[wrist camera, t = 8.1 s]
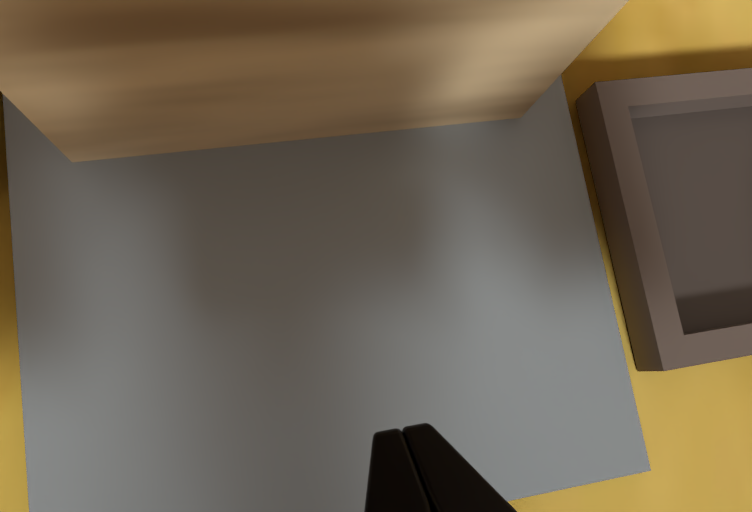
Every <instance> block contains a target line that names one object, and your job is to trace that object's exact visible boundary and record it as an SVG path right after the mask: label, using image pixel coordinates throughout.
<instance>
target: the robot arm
mask: <svg viewBox="0 0 752 512" xmlns="http://www.w3.org/2000/svg"><path fill="white" fill-rule="evenodd" d="M364 512H517V511H516V510H515V509H514V508H513V507H512V506H511V505H510V504H509V503H508V502H507V501H506V500H505V499H504V498H503V497H502V496H501V495H500V494H499V493H498V492H497V491H496V490H495V489H494V488H493V487H492V486H491V485H490V484H489V483H488V482H487V481H486V480H485V479H484V478H483V477H482V476H481V475H480V474H479V473H478V472H477V471H476V470H475V469H474V468H473V466H472V465H471V464H470V463H469V462H468V461H467V460H466V459H465V458H464V457H463V456H462V455H461V454H460V453H459V452H458V451H457V450H456V449H455V448H454V447H453V446H452V445H451V444H450V443H449V442H448V441H447V440H446V439H445V438H444V437H443V436H442V435H441V434H440V433H439V432H438V431H437V430H436V429H435V428H434V427H433V426H432V425H430V424H428V423H421V424H416V425H410V426H406V427H404V428H403V429H402V431H401V430H400V429H398V428H394V429H389V430H383V431H378V432H376V433H374V435H373V439H372V447H371V456H370V465H369V473H368V482H367V491H366V500H365V508H364Z"/></svg>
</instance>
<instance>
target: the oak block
mask: <svg viewBox="0 0 752 512" xmlns="http://www.w3.org/2000/svg"><path fill="white" fill-rule="evenodd" d="M628 1H629V0H0V91H1V92H2V93H3V94H4V95H5V96H6V97H7V98H8V99H9V100H10V101H11V102H12V103H13V104H14V105H15V106H16V107H17V108H18V109H19V110H20V111H21V112H22V113H23V114H24V115H25V116H26V117H27V118H28V119H29V120H30V121H31V122H32V123H33V124H34V125H35V126H36V127H37V128H38V129H39V130H40V131H41V132H42V133H43V134H44V135H45V136H46V137H47V138H48V139H49V140H50V141H51V142H52V143H53V144H54V145H55V146H56V147H57V148H58V149H59V150H60V151H61V152H62V153H63V154H64V155H65V156H66V157H67V158H68V159H69V160H70V161H71V162H82V161H92V160H102V159H112V158H122V157H132V156H142V155H152V154H162V153H172V152H182V151H192V150H203V149H213V148H223V147H233V146H243V145H253V144H263V143H273V142H283V141H293V140H303V139H313V138H323V137H333V136H343V135H353V134H363V133H373V132H383V131H393V130H403V129H414V128H424V127H434V126H444V125H454V124H464V123H474V122H484V121H494V120H504V119H514V118H521V117H522V116H523V115H524V114H525V113H526V112H527V111H528V109H529V108H530V107H531V106H532V105H533V104H534V103H535V102H536V101H537V100H538V99H539V98H540V96H541V95H542V94H543V93H544V92H545V91H546V90H547V89H548V88H549V87H550V86H551V84H552V83H553V82H554V81H555V80H556V79H557V78H558V77H559V76H560V75H561V74H562V72H563V71H564V70H565V69H566V68H567V67H568V66H569V65H570V64H571V63H572V62H573V60H574V59H575V58H576V57H577V56H578V55H579V54H580V53H581V52H582V51H583V50H584V49H585V47H586V46H587V45H588V44H589V43H590V42H591V41H592V40H593V39H594V38H595V37H596V35H597V34H598V33H599V32H600V31H601V30H602V29H603V28H604V27H605V26H606V25H607V23H608V22H609V21H610V20H611V19H612V18H613V17H614V16H615V15H616V14H617V13H618V12H619V10H620V9H621V8H622V7H623V6H624V5H625V4H626V3H627V2H628Z"/></svg>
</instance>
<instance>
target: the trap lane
mask: <svg viewBox="0 0 752 512" xmlns="http://www.w3.org/2000/svg"><path fill="white" fill-rule="evenodd" d="M575 102H576V106H577V110H578V115H579V119H580V123H581V128H582V132H583V136H584V141H585V145H586V149H587V154H588V158H589V163H590V167H591V171H592V176H593V180H594V184H595V189H596V193H597V197H598V202H599V206H600V210H601V215H602V219H603V223H604V228H605V232H606V236H607V241H608V245H609V250H610V254H611V258H612V263H613V267H614V271H615V276H616V280H617V284H618V289H619V293H620V297H621V302H622V306H623V310H624V315H625V319H626V323H627V328H628V332H629V337H630V341H631V345H632V350H633V354H634V358H635V363H636V367H637V371H667V370H672V369H678V368H683V367H689V366H694V365H699V364H705V363H710V362H716V361H721V360H727V359H732V358H738V357H743V356H749V355H752V68H745V69H734V70H723V71H712V72H701V73H690V74H679V75H668V76H657V77H646V78H635V79H624V80H613V81H602V82H595V83H594V84H593V85H592V86H591V87H590V88H589V89H587V90H586V91H585V92H584V93H583V94H582V95H581V96H580V97H579V98H578V99H577V100H576V101H575ZM3 108H4V124H5V140H6V155H7V171H8V187H9V202H10V218H11V234H12V249H13V265H14V281H15V296H16V312H17V327H18V343H19V359H20V374H21V390H22V406H23V421H24V437H25V453H26V468H27V484H28V500H29V512H364V508H365V500H366V491H367V482H368V473H369V465H370V456H371V447H372V439H373V435H374V433H376V432H378V431H383V430H389V429H394V428H398V429H400V430H401V431H402V429H403V428H404V427H406V426H410V425H416V424H421V423H428V424H430V425H432V426H433V427H434V428H435V429H436V430H437V431H438V432H439V433H440V434H441V435H442V436H443V437H444V438H445V439H446V440H447V441H448V442H449V443H450V444H451V445H452V446H453V447H454V448H455V449H456V450H457V451H458V452H459V453H460V454H461V455H462V456H463V457H464V458H465V459H466V460H467V461H468V462H469V463H470V464H471V465H472V466H473V468H474V469H475V470H476V471H477V472H478V473H479V474H480V475H481V476H482V477H483V478H484V479H485V480H486V481H487V482H488V483H489V484H490V485H491V486H492V487H493V488H494V489H495V490H496V491H497V492H498V493H499V494H500V495H501V496H502V497H503V498H504V499H505V500H506V501H510V500H515V499H520V498H524V497H529V496H534V495H538V494H543V493H548V492H553V491H557V490H562V489H567V488H571V487H576V486H581V485H585V484H590V483H595V482H599V481H604V480H609V479H613V478H618V477H623V476H628V475H632V474H637V473H642V472H646V471H651V469H650V464H649V460H648V456H647V451H646V447H645V442H644V438H643V434H642V429H641V425H640V420H639V416H638V412H637V407H636V403H635V398H634V394H633V390H632V385H631V381H630V376H629V372H628V368H627V363H626V359H625V354H624V350H623V346H622V341H621V337H620V332H619V328H618V324H617V319H616V315H615V310H614V306H613V302H612V297H611V293H610V288H609V284H608V280H607V275H606V271H605V267H604V262H603V258H602V253H601V249H600V245H599V240H598V236H597V231H596V227H595V223H594V218H593V214H592V209H591V205H590V201H589V196H588V192H587V187H586V183H585V179H584V174H583V170H582V165H581V161H580V157H579V152H578V148H577V143H576V139H575V135H574V130H573V126H572V121H571V117H570V113H569V108H568V104H567V99H566V95H565V91H564V86H563V82H562V77H561V75H560V76H559V77H558V78H557V79H556V80H555V81H554V82H553V83H552V84H551V86H550V87H549V88H548V89H547V90H546V91H545V92H544V93H543V94H542V95H541V96H540V98H539V99H538V100H537V101H536V102H535V103H534V104H533V105H532V106H531V107H530V108H529V109H528V111H527V112H526V113H525V114H524V115H523V116H522V117H521V118H514V119H504V120H494V121H484V122H474V123H464V124H454V125H444V126H434V127H424V128H414V129H403V130H393V131H383V132H373V133H363V134H353V135H343V136H333V137H323V138H313V139H303V140H293V141H283V142H273V143H263V144H253V145H243V146H233V147H223V148H213V149H203V150H192V151H182V152H172V153H162V154H152V155H142V156H132V157H122V158H112V159H102V160H92V161H82V162H71V161H70V160H69V159H68V158H67V157H66V156H65V155H64V154H63V153H62V152H61V151H60V150H59V149H58V148H57V147H56V146H55V145H54V144H53V143H52V142H51V141H50V140H49V139H48V138H47V137H46V136H45V135H44V134H43V133H42V132H41V131H40V130H39V129H38V128H37V127H36V126H35V125H34V124H33V123H32V122H31V121H30V120H29V119H28V118H27V117H26V116H25V115H24V114H23V113H22V112H21V111H20V110H19V109H18V108H17V107H16V106H15V105H14V104H13V103H12V102H11V101H10V100H9V99H8V98H7V97H6V96H5V95H4V94H3Z"/></svg>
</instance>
